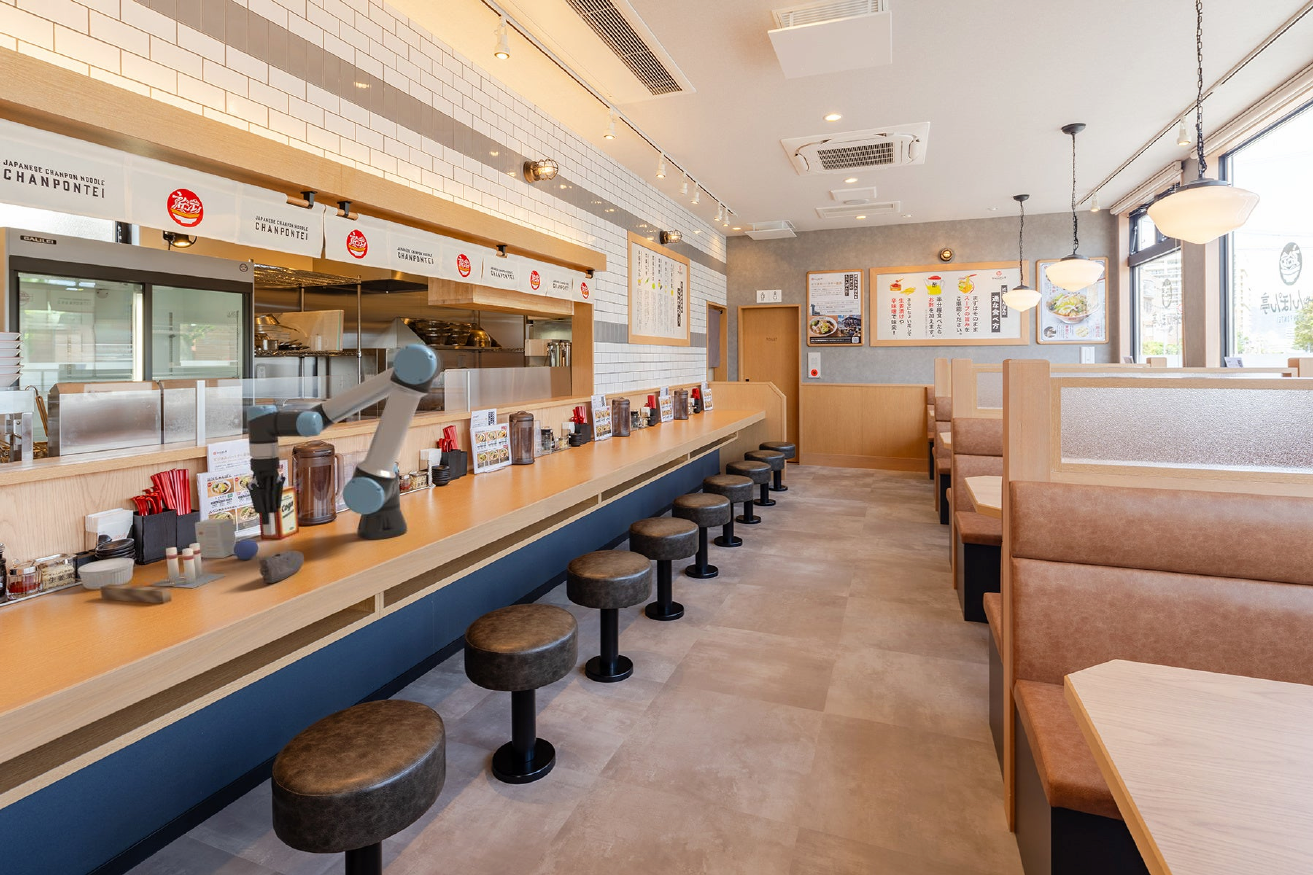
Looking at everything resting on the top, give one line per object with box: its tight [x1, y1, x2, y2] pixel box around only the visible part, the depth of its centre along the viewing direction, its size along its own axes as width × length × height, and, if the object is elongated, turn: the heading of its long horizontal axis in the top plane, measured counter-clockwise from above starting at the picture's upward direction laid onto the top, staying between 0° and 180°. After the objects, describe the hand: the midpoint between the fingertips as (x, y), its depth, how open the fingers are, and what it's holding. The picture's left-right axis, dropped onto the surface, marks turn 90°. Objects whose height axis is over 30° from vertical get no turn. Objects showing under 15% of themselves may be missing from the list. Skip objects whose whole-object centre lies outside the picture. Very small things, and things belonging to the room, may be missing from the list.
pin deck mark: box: [149, 572, 227, 589], centre depth 169 cm, size 13×10×1 cm
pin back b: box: [165, 546, 180, 583], centre depth 167 cm, size 2×2×9 cm
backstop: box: [99, 584, 172, 604], centre depth 155 cm, size 18×2×3 cm, turn 79°
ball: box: [233, 538, 259, 561], centre depth 186 cm, size 6×6×6 cm
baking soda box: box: [258, 485, 300, 541], centre depth 211 cm, size 10×6×16 cm
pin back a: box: [181, 548, 196, 584], centre depth 166 cm, size 2×2×9 cm
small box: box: [194, 518, 237, 559], centre depth 190 cm, size 8×6×10 cm
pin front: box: [188, 542, 203, 578], centre depth 170 cm, size 2×2×9 cm
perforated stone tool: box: [259, 550, 305, 584], centre depth 170 cm, size 15×5×7 cm, turn 170°
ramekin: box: [77, 557, 135, 591], centre depth 167 cm, size 11×11×5 cm
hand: (269, 534), depth 195 cm, fingers closed
